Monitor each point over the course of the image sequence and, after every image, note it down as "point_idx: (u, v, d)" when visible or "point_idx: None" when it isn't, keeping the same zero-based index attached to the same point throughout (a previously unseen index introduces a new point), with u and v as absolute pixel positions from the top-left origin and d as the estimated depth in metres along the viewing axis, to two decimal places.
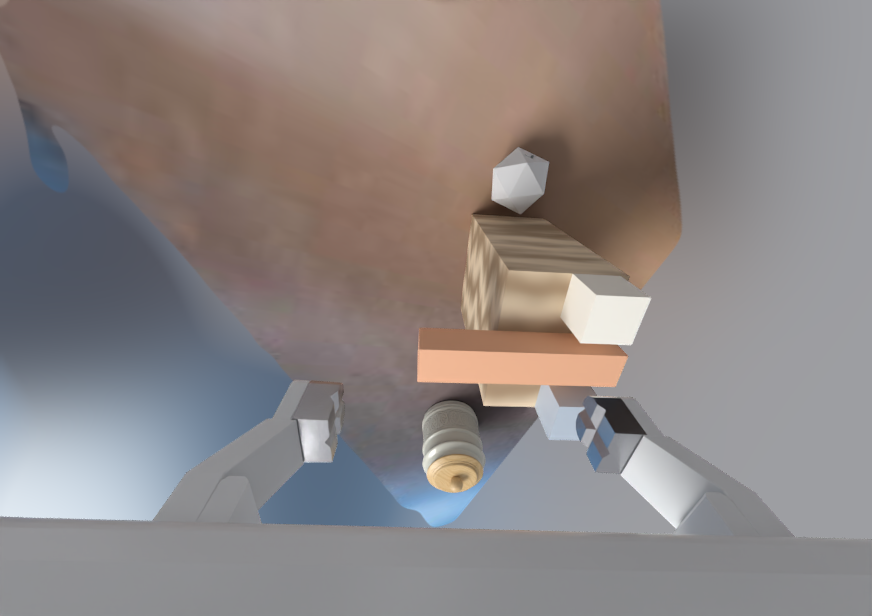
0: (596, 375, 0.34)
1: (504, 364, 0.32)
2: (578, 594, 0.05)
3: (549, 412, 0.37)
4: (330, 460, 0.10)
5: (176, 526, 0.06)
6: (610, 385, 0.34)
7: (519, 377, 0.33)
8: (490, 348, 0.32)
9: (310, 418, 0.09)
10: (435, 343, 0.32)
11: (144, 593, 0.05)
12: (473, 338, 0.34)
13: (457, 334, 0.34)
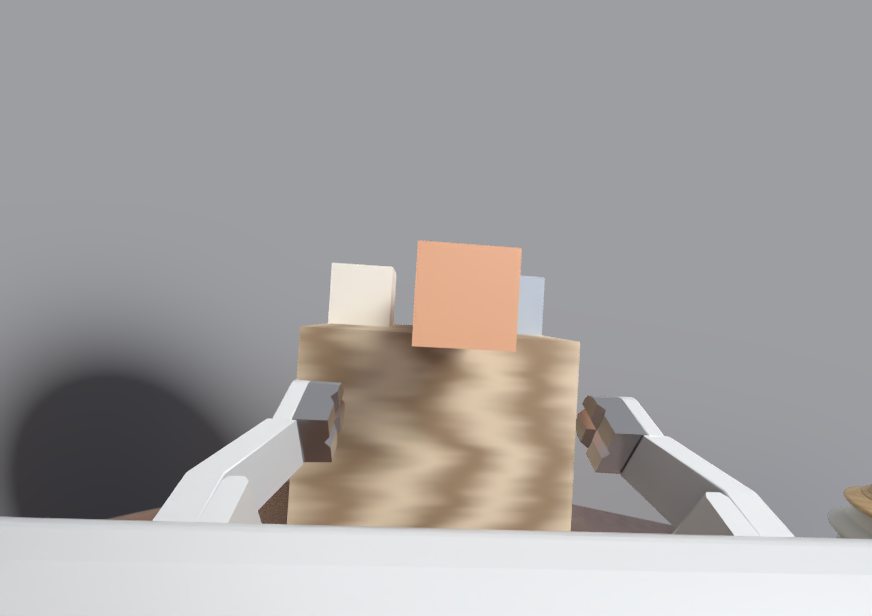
0: None
1: None
2: (579, 594, 0.05)
3: None
4: (330, 460, 0.10)
5: (176, 526, 0.06)
6: None
7: None
8: None
9: (310, 418, 0.09)
10: None
11: (144, 593, 0.05)
12: None
13: None
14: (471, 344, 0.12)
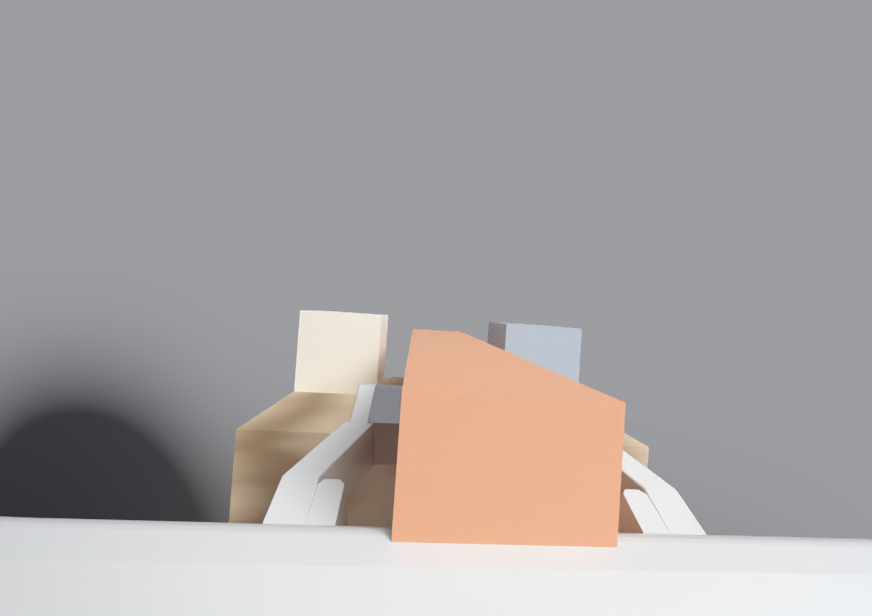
0: (447, 332, 0.24)
1: (444, 345, 0.14)
2: (579, 594, 0.05)
3: (541, 350, 0.21)
4: None
5: (176, 526, 0.06)
6: (460, 332, 0.26)
7: (473, 343, 0.16)
8: None
9: (386, 422, 0.09)
10: None
11: (144, 593, 0.05)
12: None
13: None
14: None
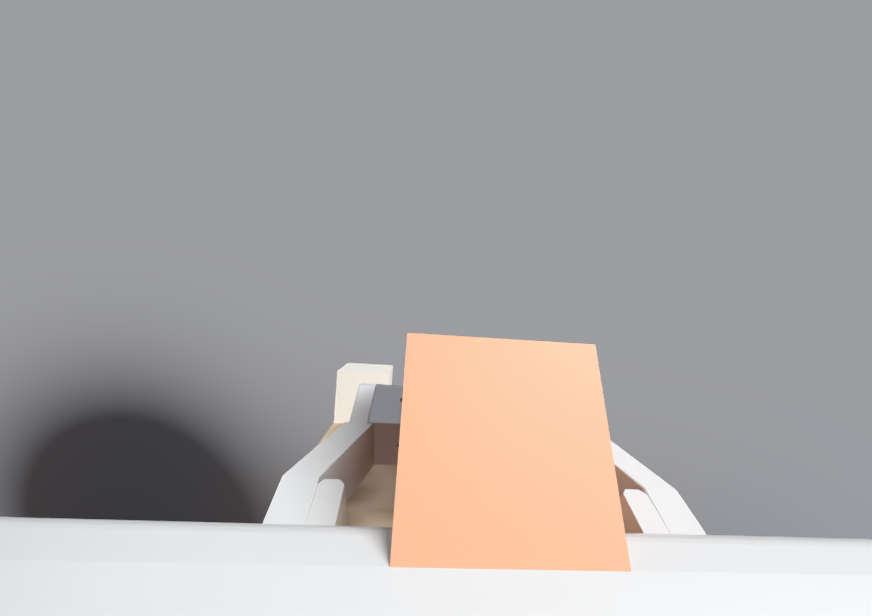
0: None
1: None
2: (578, 594, 0.05)
3: None
4: None
5: (176, 526, 0.06)
6: None
7: None
8: None
9: (386, 422, 0.09)
10: None
11: (144, 593, 0.05)
12: None
13: None
14: (528, 561, 0.05)
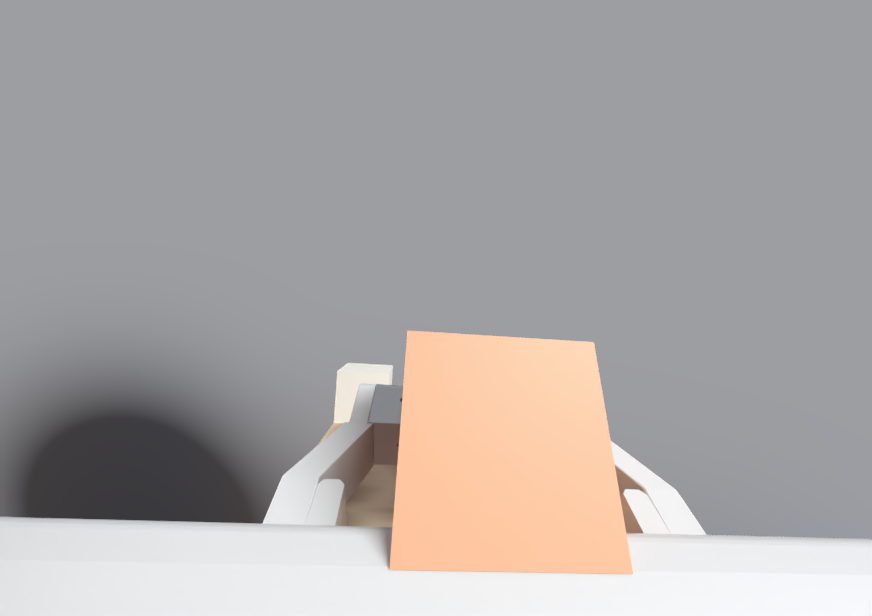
0: None
1: None
2: (578, 593, 0.05)
3: None
4: None
5: (176, 526, 0.06)
6: None
7: None
8: None
9: (386, 422, 0.09)
10: None
11: (144, 593, 0.05)
12: None
13: None
14: (529, 557, 0.05)
